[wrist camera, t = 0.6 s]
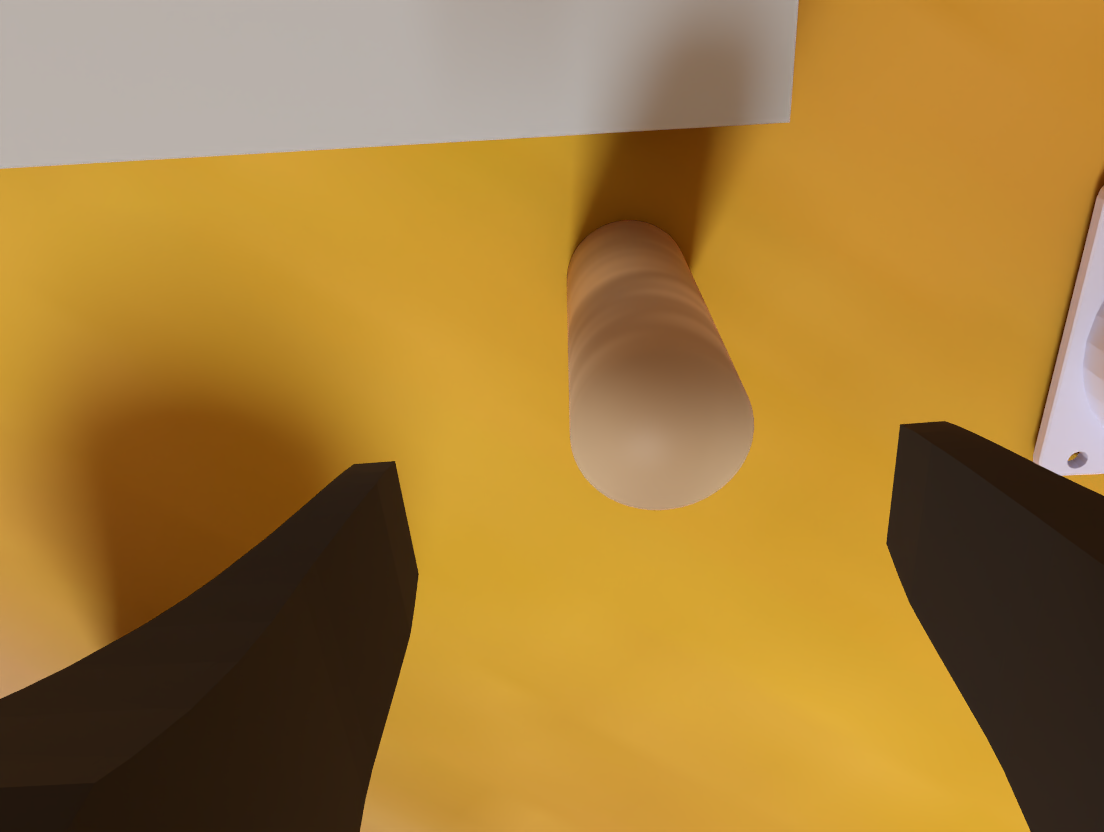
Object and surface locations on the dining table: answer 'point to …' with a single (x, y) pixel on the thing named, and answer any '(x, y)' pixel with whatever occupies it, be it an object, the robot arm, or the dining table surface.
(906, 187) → the dining table surface
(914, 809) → the dining table surface
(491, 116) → the hole board
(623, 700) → the dining table surface
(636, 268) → the dowel
